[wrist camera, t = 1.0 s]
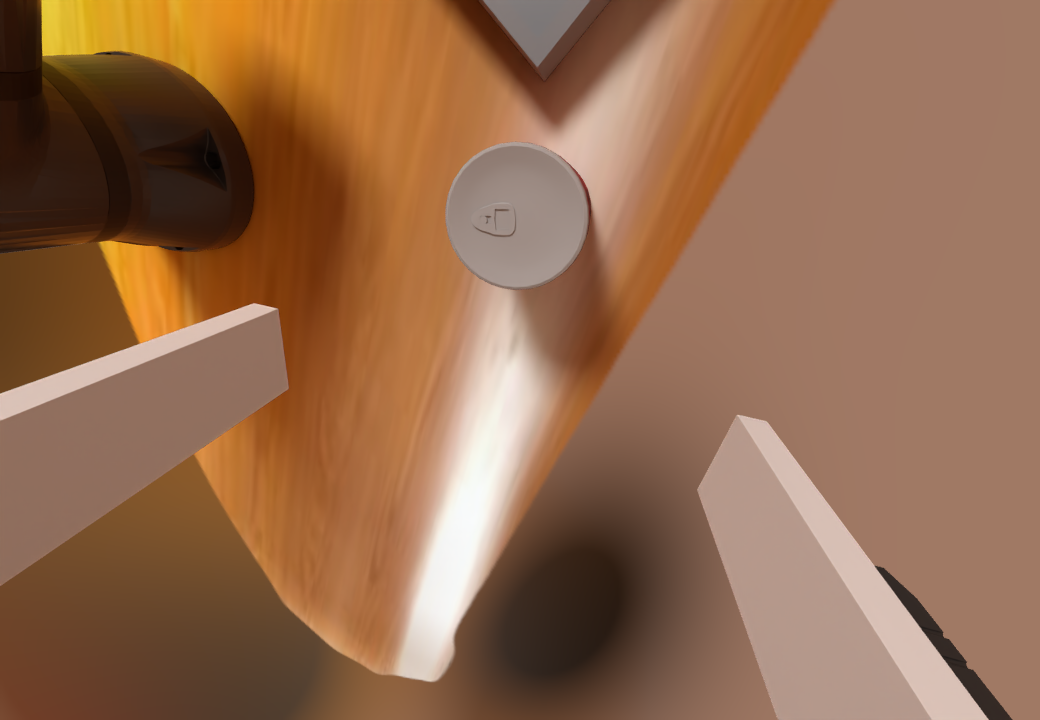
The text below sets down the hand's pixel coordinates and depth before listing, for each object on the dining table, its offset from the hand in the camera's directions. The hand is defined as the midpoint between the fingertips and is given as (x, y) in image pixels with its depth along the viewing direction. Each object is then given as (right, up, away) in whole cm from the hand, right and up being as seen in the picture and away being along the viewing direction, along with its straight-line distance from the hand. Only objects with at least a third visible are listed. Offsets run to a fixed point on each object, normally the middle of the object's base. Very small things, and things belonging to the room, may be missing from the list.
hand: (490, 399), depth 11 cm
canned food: (+3, +13, +19) cm, 24 cm away
